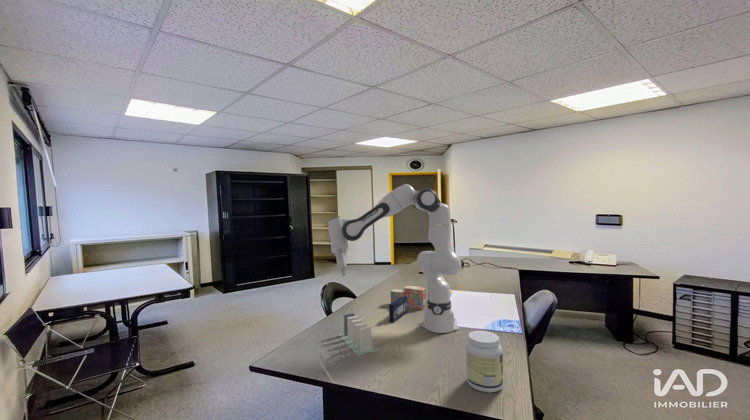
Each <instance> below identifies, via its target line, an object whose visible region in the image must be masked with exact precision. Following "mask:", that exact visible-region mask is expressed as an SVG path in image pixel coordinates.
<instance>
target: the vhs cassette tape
mask: <svg viewBox="0 0 750 420" xmlns="http://www.w3.org/2000/svg"><path fill="white" fill-rule="evenodd" d="M388 307H389V310H388V311H389V313H388V316H389V318H388V319H389V323H390V324H391V323H393V324H394V323H396V322H397V321H399V320H400V319H401V318H403V316H405V315H406V314H408V308H407V296H402V297H401V298H399V299H397V300H396V301H394V302H393V303H391V302H390V304H389V305H388Z"/></svg>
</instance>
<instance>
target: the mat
mask: <svg viewBox="0 0 750 420" xmlns="http://www.w3.org/2000/svg"><path fill="white" fill-rule="evenodd" d="M338 336H339V338H341V339H342V340H343V342H344V343H345V344H346V345H347V346H348V347H349V348H350V349H351V351H353V352H354V354H356V357H358V356H362V355H365V354H370V353H374V352H378V351H379V349H378V348H377V347H375V345H373V344H372V350H370V351H366V352H362V353H361V352H360V347H359V348H356V343H354V344H353V343H352V339H348V335H346V336H345V335H344V332H343V333H338Z"/></svg>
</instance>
